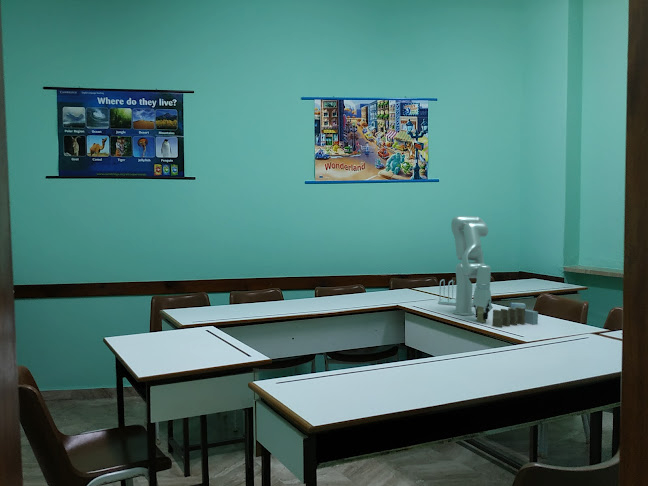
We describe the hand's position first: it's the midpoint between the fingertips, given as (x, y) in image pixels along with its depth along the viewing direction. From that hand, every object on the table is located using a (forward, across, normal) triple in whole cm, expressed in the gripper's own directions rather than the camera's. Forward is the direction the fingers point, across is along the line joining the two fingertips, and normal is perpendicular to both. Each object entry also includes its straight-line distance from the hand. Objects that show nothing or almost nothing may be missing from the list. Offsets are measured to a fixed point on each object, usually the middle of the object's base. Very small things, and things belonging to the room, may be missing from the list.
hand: (481, 317), depth 357 cm
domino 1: (+2, 0, 0) cm, 2 cm away
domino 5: (+2, +14, +16) cm, 21 cm away
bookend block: (+2, +14, +23) cm, 27 cm away
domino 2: (+2, +14, -2) cm, 14 cm away
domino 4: (+2, +14, +10) cm, 17 cm away
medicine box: (+3, 0, +30) cm, 30 cm away
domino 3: (+2, +14, +4) cm, 14 cm away
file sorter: (+4, -54, +35) cm, 65 cm away
